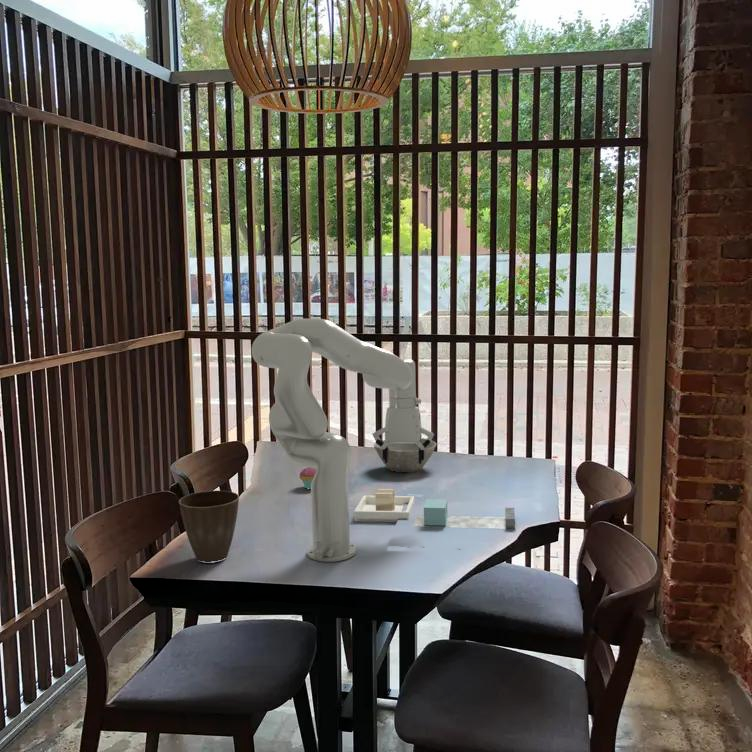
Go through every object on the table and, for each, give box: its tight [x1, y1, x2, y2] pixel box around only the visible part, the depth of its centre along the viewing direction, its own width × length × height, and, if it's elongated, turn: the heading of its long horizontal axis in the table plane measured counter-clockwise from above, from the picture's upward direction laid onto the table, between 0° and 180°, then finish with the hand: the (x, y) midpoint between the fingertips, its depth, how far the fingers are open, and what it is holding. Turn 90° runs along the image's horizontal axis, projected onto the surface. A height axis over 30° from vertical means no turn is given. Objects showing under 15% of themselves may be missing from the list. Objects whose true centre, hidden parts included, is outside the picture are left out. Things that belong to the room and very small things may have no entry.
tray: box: [353, 495, 416, 523], centre depth 224 cm, size 16×16×3 cm
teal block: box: [423, 498, 448, 525], centre depth 212 cm, size 8×6×5 cm
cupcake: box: [298, 467, 316, 489], centre depth 254 cm, size 9×8×12 cm
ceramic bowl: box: [373, 437, 437, 473], centre depth 274 cm, size 22×23×10 cm
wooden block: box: [374, 488, 396, 511], centre depth 224 cm, size 5×5×6 cm
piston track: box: [412, 507, 516, 530], centre depth 211 cm, size 10×28×4 cm, turn 81°
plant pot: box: [178, 490, 240, 562], centre depth 191 cm, size 15×15×16 cm
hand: (403, 462), depth 212 cm, fingers open, 9 cm apart
